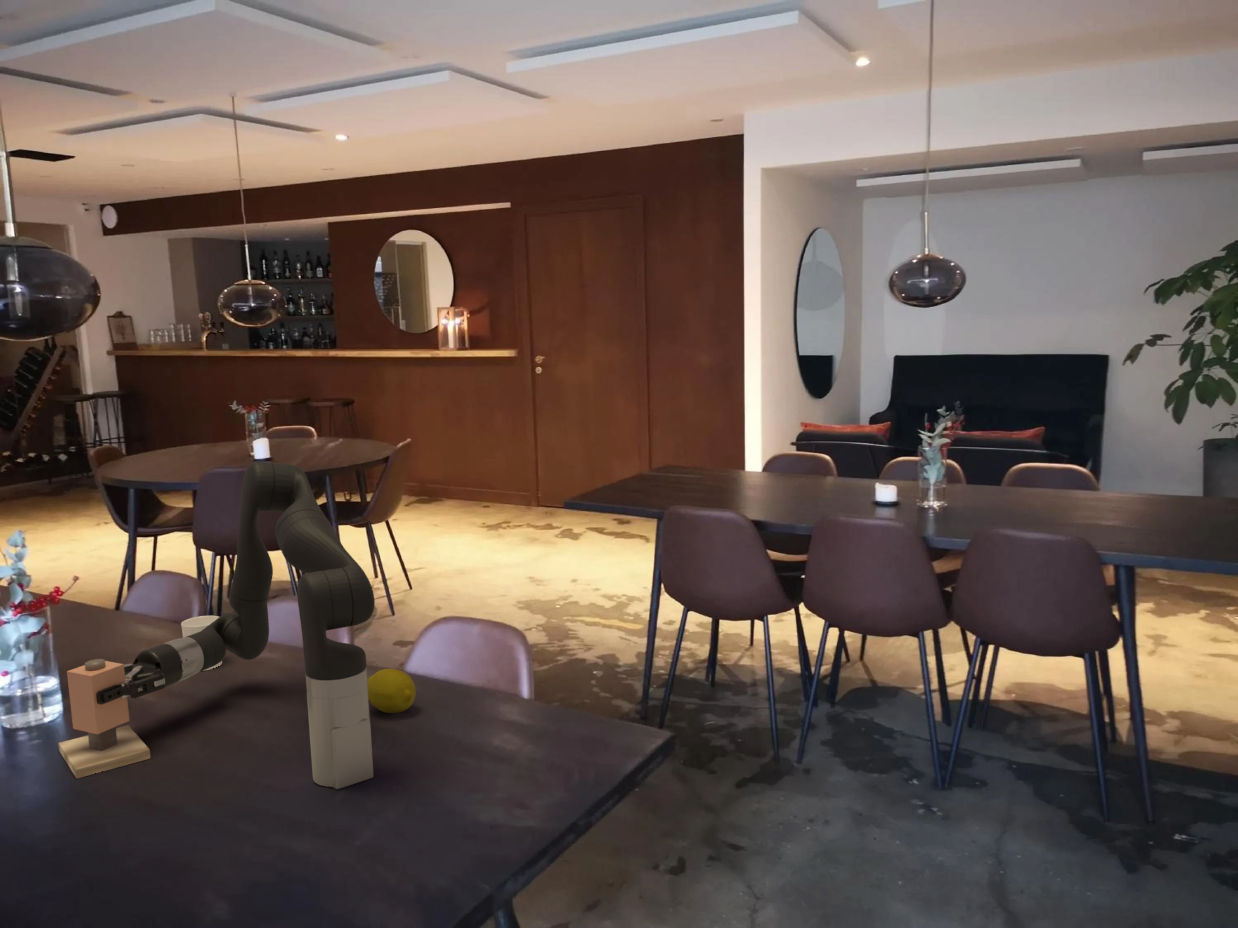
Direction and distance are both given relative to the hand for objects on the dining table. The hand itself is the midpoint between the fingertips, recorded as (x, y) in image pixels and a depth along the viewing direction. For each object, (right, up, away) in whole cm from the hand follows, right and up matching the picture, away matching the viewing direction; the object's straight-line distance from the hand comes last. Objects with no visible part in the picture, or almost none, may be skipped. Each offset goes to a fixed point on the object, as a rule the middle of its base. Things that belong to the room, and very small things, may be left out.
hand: (84, 695), depth 161 cm
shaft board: (+1, -11, +4) cm, 11 cm away
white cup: (0, -5, +47) cm, 48 cm away
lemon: (+46, -8, +20) cm, 51 cm away
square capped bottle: (+1, -6, +3) cm, 6 cm away
